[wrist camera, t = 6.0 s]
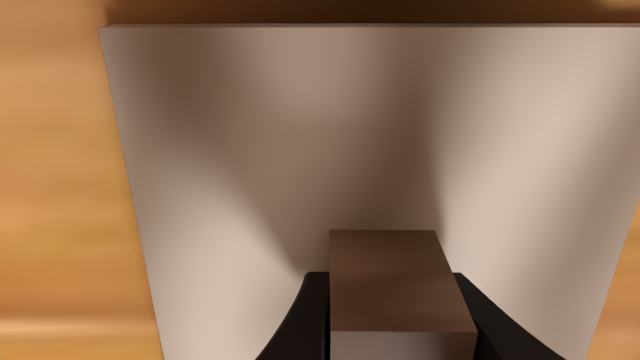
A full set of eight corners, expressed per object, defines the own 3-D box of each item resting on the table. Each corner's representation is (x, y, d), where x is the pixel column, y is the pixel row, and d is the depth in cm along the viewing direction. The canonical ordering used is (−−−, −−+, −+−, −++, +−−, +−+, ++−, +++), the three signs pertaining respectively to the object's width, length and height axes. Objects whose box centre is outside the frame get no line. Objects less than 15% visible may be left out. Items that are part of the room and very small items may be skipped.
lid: (666, 23, 11) (899, 54, 7) (548, 407, 17) (629, 564, 12) (116, 23, 11) (-24, 53, 7) (185, 404, 17) (135, 558, 13)
